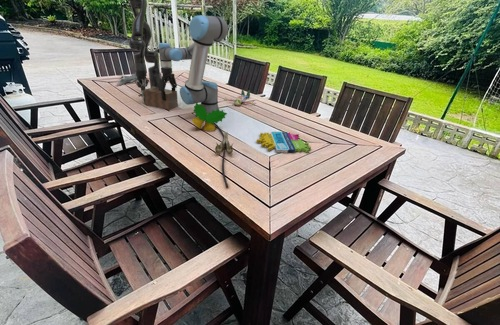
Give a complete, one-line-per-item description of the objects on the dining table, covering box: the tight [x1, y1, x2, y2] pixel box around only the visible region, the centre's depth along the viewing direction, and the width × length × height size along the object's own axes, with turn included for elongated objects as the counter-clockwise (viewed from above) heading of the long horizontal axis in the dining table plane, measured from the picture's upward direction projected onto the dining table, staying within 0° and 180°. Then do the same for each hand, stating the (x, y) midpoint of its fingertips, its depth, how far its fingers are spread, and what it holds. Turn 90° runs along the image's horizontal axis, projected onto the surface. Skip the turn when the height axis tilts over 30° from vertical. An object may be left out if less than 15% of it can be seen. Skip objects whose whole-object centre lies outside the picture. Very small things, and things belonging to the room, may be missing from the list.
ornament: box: [191, 102, 228, 132], centre depth 162 cm, size 21×8×15 cm, turn 105°
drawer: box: [138, 87, 150, 104], centre depth 197 cm, size 25×10×10 cm, turn 69°
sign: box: [256, 131, 312, 154], centre depth 152 cm, size 26×2×30 cm
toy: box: [223, 89, 257, 106], centre depth 219 cm, size 28×7×30 cm
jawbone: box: [214, 131, 234, 156], centre depth 136 cm, size 9×15×10 cm
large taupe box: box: [144, 87, 179, 111], centre depth 196 cm, size 21×11×12 cm, turn 69°
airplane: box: [114, 72, 137, 87], centre depth 254 cm, size 38×31×10 cm
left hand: (143, 93), depth 199 cm, fingers closed
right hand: (169, 98), depth 193 cm, fingers closed on large taupe box, 11 cm apart
